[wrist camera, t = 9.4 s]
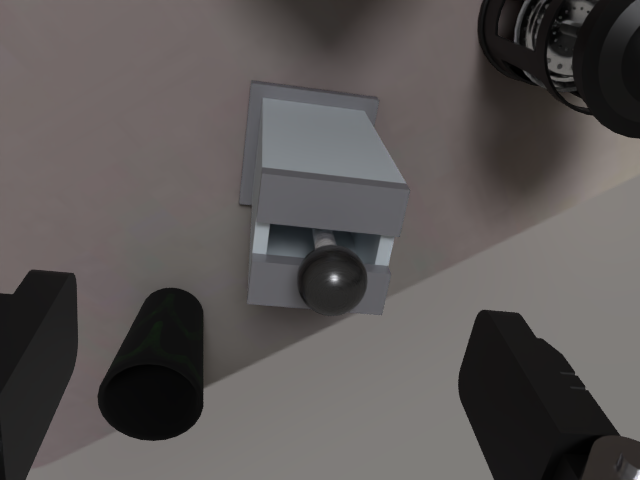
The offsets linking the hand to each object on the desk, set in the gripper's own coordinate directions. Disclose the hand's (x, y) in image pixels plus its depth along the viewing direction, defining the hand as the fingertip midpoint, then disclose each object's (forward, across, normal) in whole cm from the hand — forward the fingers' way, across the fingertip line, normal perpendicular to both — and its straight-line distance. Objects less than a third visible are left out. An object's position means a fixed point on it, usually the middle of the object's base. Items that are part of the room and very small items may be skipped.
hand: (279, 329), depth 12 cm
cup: (+38, +6, +25) cm, 46 cm away
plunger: (+32, -4, +8) cm, 33 cm away
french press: (+38, -20, -5) cm, 43 cm away
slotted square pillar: (+38, -4, +8) cm, 39 cm away
